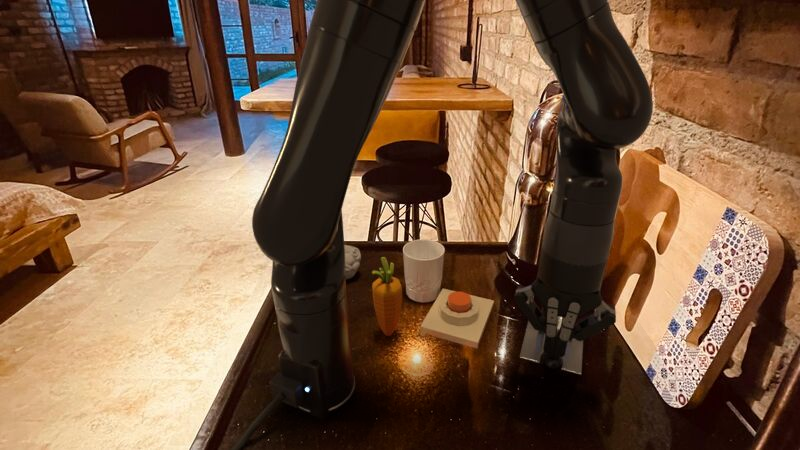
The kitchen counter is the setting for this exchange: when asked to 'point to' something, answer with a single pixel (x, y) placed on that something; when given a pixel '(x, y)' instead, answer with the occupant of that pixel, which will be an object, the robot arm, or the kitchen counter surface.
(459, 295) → the button
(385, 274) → the carrot
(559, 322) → the lever
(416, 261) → the white cup
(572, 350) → the bracket
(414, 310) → the kitchen counter surface
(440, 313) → the control block
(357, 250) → the frog figurine
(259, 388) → the kitchen counter surface
